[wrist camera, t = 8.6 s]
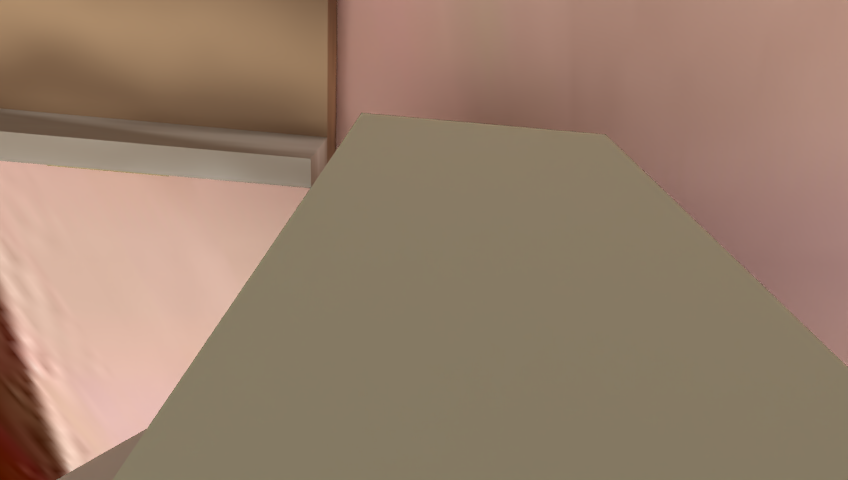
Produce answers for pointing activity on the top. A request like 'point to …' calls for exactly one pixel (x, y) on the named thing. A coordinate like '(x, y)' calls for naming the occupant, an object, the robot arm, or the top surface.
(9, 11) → the shelf board
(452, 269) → the carton
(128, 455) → the robot arm
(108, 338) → the top surface
